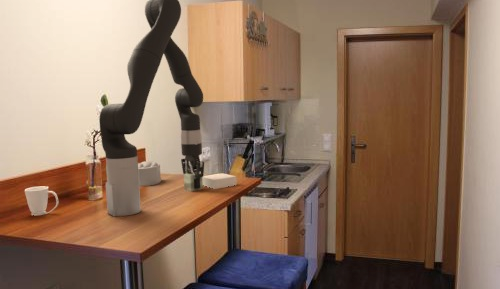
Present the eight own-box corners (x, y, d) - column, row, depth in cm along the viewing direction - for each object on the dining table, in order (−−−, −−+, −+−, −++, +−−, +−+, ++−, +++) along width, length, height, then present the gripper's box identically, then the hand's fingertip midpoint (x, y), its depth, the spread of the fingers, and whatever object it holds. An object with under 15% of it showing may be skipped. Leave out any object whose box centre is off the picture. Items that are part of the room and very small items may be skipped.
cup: (34, 211, 144) (31, 186, 143) (64, 210, 143) (62, 185, 142) (21, 217, 137) (19, 191, 136) (53, 216, 136) (51, 190, 135)
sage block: (191, 191, 165) (190, 175, 164) (184, 189, 169) (183, 173, 168) (202, 189, 168) (202, 173, 167) (196, 187, 172) (195, 172, 171)
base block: (214, 189, 168) (214, 179, 168) (201, 185, 176) (200, 176, 176) (236, 185, 174) (236, 176, 173) (222, 181, 182) (222, 173, 181)
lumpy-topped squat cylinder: (163, 179, 191) (161, 159, 190) (154, 186, 178) (153, 164, 177) (139, 180, 192) (137, 160, 191) (129, 186, 179) (127, 165, 178)
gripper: (173, 141, 170) (175, 186, 172) (191, 144, 159) (194, 191, 160) (191, 140, 174) (193, 183, 176) (210, 142, 163) (212, 188, 165)
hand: (193, 187), depth 168 cm, fingers closed on sage block, 5 cm apart
